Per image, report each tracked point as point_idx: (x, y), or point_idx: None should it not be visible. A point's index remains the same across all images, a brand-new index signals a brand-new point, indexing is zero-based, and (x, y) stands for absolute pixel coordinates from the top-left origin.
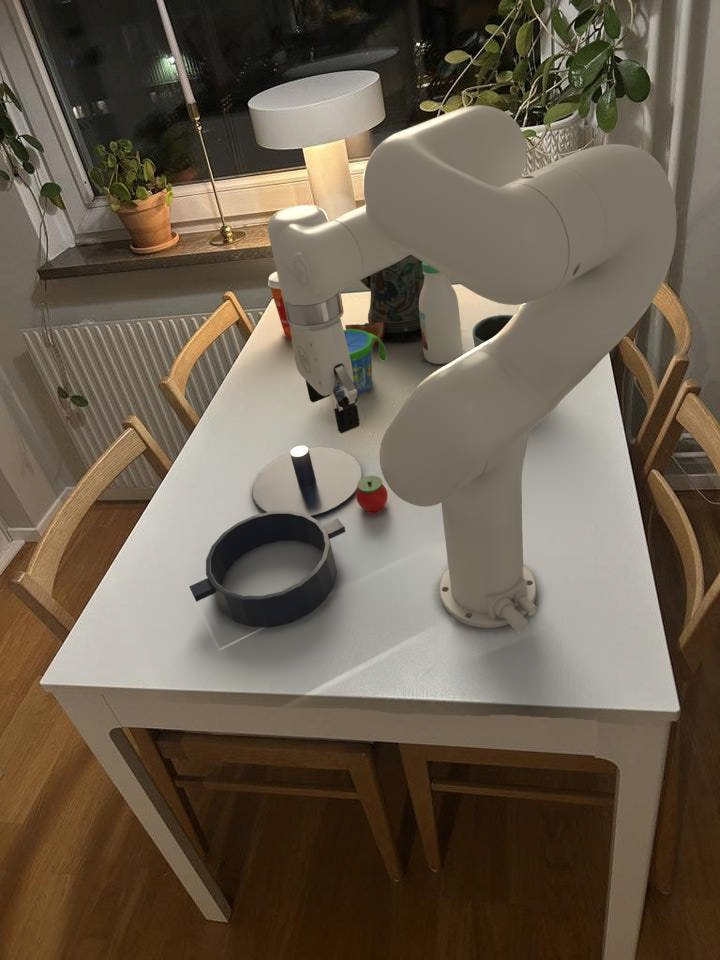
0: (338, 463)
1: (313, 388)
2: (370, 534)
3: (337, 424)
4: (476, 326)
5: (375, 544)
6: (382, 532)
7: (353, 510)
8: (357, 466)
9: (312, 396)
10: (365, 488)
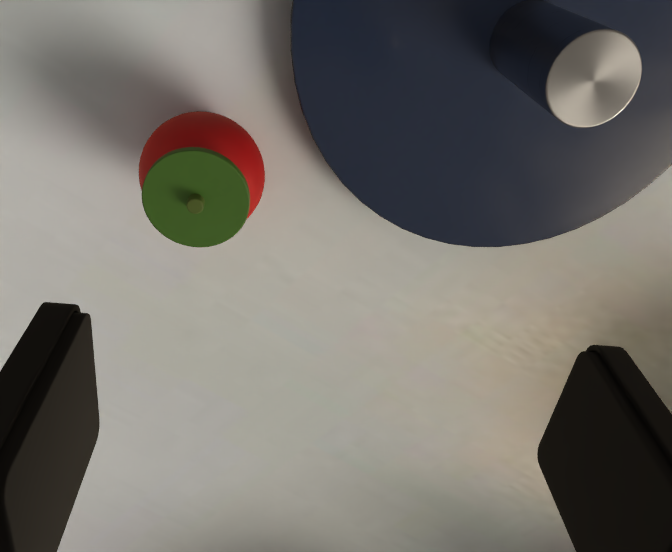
0: (501, 190)
1: (626, 462)
2: (91, 59)
3: (33, 349)
4: None
5: (26, 41)
6: (75, 100)
7: (257, 88)
8: (429, 229)
9: (604, 390)
10: (175, 170)
